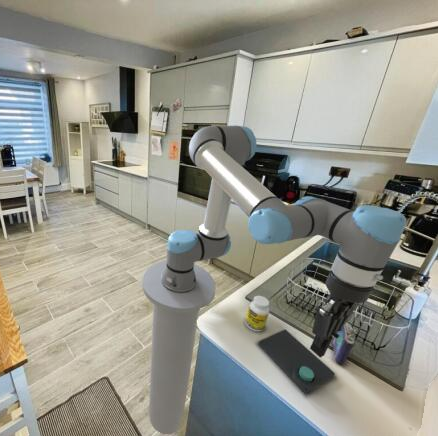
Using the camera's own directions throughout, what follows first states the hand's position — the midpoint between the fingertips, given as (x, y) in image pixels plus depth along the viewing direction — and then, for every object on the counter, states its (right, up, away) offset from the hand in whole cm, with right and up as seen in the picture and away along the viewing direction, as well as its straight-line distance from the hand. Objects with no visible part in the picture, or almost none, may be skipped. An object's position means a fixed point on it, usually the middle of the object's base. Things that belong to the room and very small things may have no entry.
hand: (316, 351), depth 61 cm
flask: (+16, -8, +13) cm, 22 cm away
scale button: (0, -9, +4) cm, 10 cm away
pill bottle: (-6, -3, +23) cm, 24 cm away
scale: (+1, -8, +11) cm, 14 cm away
